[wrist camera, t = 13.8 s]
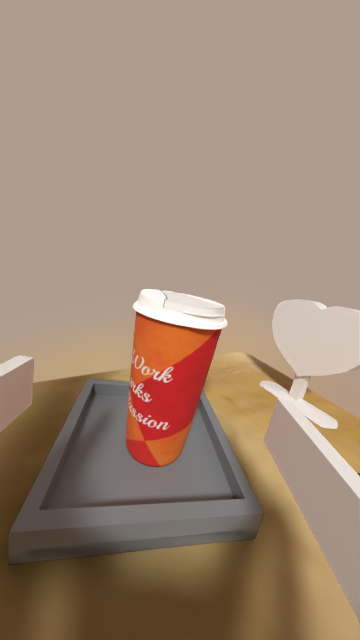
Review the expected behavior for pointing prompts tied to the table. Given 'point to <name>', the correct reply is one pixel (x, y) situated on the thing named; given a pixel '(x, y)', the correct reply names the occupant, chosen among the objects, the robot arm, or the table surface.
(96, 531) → the tray
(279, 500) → the table surface
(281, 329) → the heart sculpture
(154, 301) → the coffee cup
